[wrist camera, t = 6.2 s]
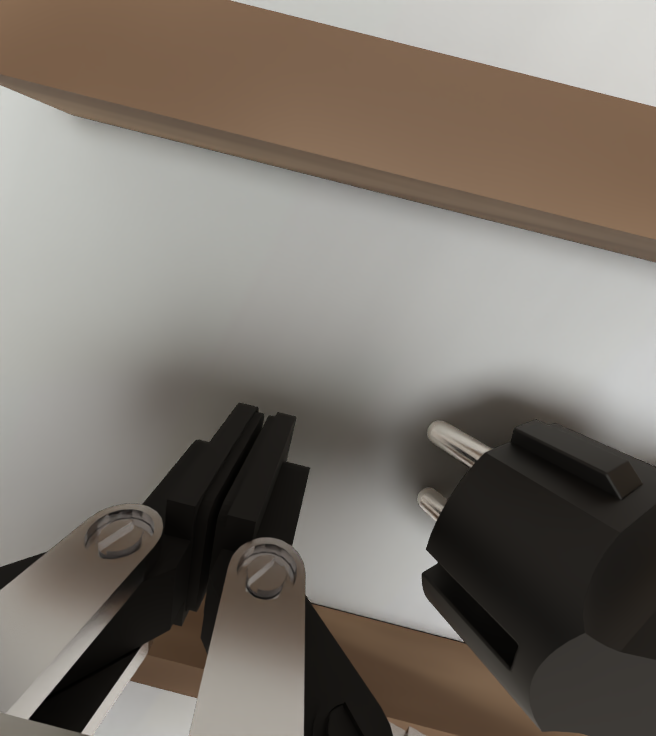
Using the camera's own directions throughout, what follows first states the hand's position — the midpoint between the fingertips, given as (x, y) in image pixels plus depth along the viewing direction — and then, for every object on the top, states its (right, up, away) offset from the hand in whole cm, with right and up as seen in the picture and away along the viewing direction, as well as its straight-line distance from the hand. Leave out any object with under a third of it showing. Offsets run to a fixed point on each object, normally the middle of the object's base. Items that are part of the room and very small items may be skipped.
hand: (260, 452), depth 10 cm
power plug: (+11, -1, +1) cm, 11 cm away
